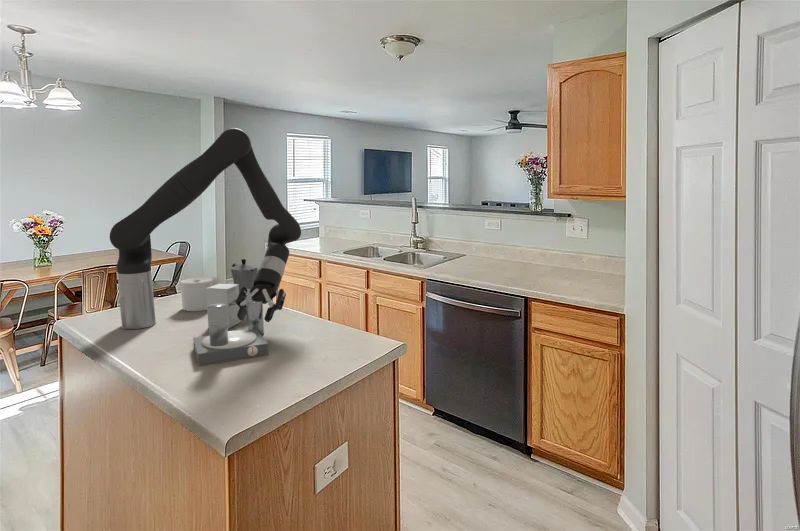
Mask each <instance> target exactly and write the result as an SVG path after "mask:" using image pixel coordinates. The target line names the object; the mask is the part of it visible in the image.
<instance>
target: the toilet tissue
mask: <svg viewBox="0 0 800 531" xmlns="http://www.w3.org/2000/svg"><path fill="white" fill-rule="evenodd" d="M217 284H221V277H213V276H211V277H209V276H206V277H191V278H186V279H182V280H181V281H180V294H181V303H182V304H181V306H182V307H181V308H182V311H185V310H186V312H200V311H201V312H202V310H203V311H207V299H206V288H208V287H211V286H214V285H217Z"/></svg>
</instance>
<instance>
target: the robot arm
mask: <svg viewBox="0 0 800 531" xmlns="http://www.w3.org/2000/svg"><path fill="white" fill-rule="evenodd" d="M233 164H234V166H236V168H237V169H238V171H239V172H240V174H241V176H242V177H243V179H244V181H245V183H246V186H247V188H248V190H249V192H250V194H251V196H252V198H253V200H254V202H255V204H256V206H257V207H258V209H259V211H260V213H261V214H262V216H263V217H264V219H266V220H268V221H271V220H273V221H274V222H276V223H277V224H275V225H273V226H272V227H271V228H270V229H269V233H268V237H267V238H268V239H267V249H266V252H265V254H264V257H263V259H262V260H261V262H260V265H259V266H258V269H257V275H256V278H255V280H254V285H253V287H252V288H251V289H246V287H242V289H241V291H240V293H239V295H238V298H237V300H236V304H237V305H238V306H239V307H240V308H239V311H238V314H237V316H238V318H239V319H240V320H241V321H244V319H245V316H246V315H247V313H246V311H247V310H246V309H247V301H249V300H251V298H252V299H253V300H262V304H263V305H266V304H268V307H267V309H266V312H265V316H264V317H263V320H264V321H265V322H266V323H270V321H272V319H273V316H274V314H275V312H276V311H277V310H279V311H282V309H283V307H284V304H285V300H286V296H287V293H286V291H285V290H284V289H283V288H280V285H281V282H282V278H283V277H284V273H285V269H286V265H287V262H288V260H289V256H290V249H289V248H288V246H286V245H287V244H289V243H293V242H296V241H298V240H299V239H300V237H301V236H302V230H301V229H302V228H301V226H300V224H299V222H298V220H297V219H296V218H295V217H294V216H293V215H292V214H291V213H290V212H289V211H288V210H287V209H286V208H285V207H284V206H283V204H282V201H281V200H280V198H279V197H278V194H277V192H276V190H275V189H274V187H273V186H272V184H271V183H270V181H269V180H268V178H267V177H266V174H265V173H264V172H263V170H262V168H261V166H260V163H259V161H258V159H257V158H256V155H255V152H254V150H253V147H252V140H251V139H250V137H249V135H248V133H246V131H244V130H242V129H241V128H236V127H231V128H227V129H225V130H224V131H223V132H221V134H220V135H219V137H218V138H217V139H215V140H214V141H213V143H212V144H211V145H210V146H209V147H208V148H207V149H206V150H205V151H204V152H203V153H202V154H200V155H199V156H198V157H196V158H195V159H194V160H192V161H191V162H189V163H187V164H186V165H184V166H183V167H182V168H181V169H180V170H178V171H177V172H175V173H174V174H173V175H172V176H171V177H170V178H168V180H166V181H165V182H164V183H163V184H162V185H160V187H158V188H157V190H156V191H155V192H154V193H152V194H151V196H150V197H148V199H146V201H145V202H144V203H143V204H141V206H139V207H138V208H137V209H136V210H134V211H133V212H131V213H130V214H128V215H127V216H125V217H124V218H122V219H121V220H119V221H118V222H116V223H115V224H114V225H113V226H112V227H111V230H110V232H109V241H110V244H111V245H112V246H113V247H114V248H115V249H117V250H118V260H117V263H116V273H117V274H116V275H117V283H118V293H119V300H118V301H119V308H120V317H121V318H120V319H121V328H122V330H139V329H145V328H150V327H152V326H155V325H156V324H157V321H156V319H157V318H156V311H155V310H156V308H155V299H154V290H153V288H154V287H153V279H152V276H153V275H152V266H151V265H152V255H153V254H152V241H151V240H152V239H151V234H152V233H153V231H154V230H156V229H157V228H158V227H159V226H160V225H161V224H163V223H164V222H165V221H167V220H169V219H171V218H172V217H174V216H175V215H178V213H180V212H181V211H183V210H184V209H185V208H187V207H189V206H190V205H191V204H192V203H193V202H194V201H196V199H197V198H199V197H200V196H201V195H202V194H203V193H204V192H205V191H206V190H207V189H208V188H209V186H211V184H212V183H213V182H214V180H215V179H216V178H217V177H218V176H219V175H220V174H221V173H222V172H224V171H225V170H226V169H227V168H229V167H230V166H231V165H233ZM279 288H280V289H279ZM249 294H250V295H249ZM276 296H277V298H276V302H274V301H273V299H274V298H275V297H276ZM245 304H246V305H245Z"/></svg>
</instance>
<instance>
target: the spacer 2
mask: <svg viewBox="0 0 800 531" xmlns="http://www.w3.org/2000/svg"><path fill="white" fill-rule="evenodd" d="M263 307H264V304H263V303H262V300H249V301H247V313H246V315H247V329H248V330H254V329H258V331H259V332H260V333H261V335H262V336H263V335H264V334H265V330H264V329H265V328H264V327H265V326H264V308H263Z"/></svg>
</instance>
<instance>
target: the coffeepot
mask: <svg viewBox="0 0 800 531" xmlns="http://www.w3.org/2000/svg"><path fill="white" fill-rule="evenodd" d="M240 261H241V264H240V263H238V264H237V263H233V264H232V266H231V267H230V272H231V276H232V280H233V284H239V293H240V291H241V289H242V287H246V289H251V288H252V287H253V285H254V280H255V278H256V275H257V272H258V270H259V267H258V266H257V265H252V264H247V263H246V262H247V259H245V258H242V259H241V260H240ZM249 295H250V294H249ZM251 300H253V299H252V298H251ZM245 305H246V304H245ZM246 310H247V309H246ZM246 314H247V311H246Z"/></svg>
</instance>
